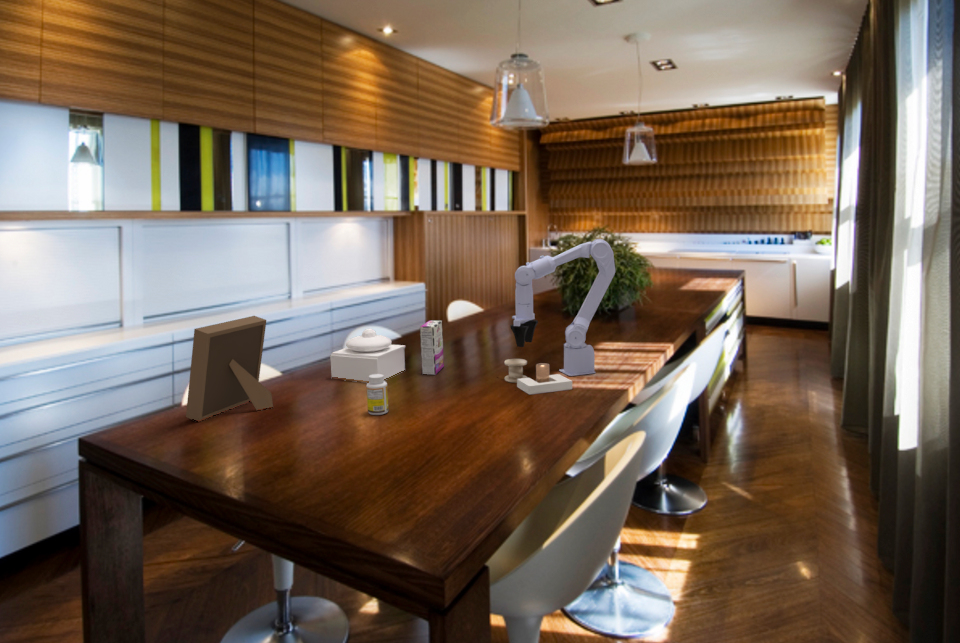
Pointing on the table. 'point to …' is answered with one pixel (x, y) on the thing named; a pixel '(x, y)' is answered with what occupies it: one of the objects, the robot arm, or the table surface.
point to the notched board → (544, 384)
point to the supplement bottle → (377, 395)
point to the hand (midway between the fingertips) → (524, 344)
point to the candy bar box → (431, 347)
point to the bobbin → (515, 369)
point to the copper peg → (542, 373)
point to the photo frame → (227, 367)
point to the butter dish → (368, 357)
